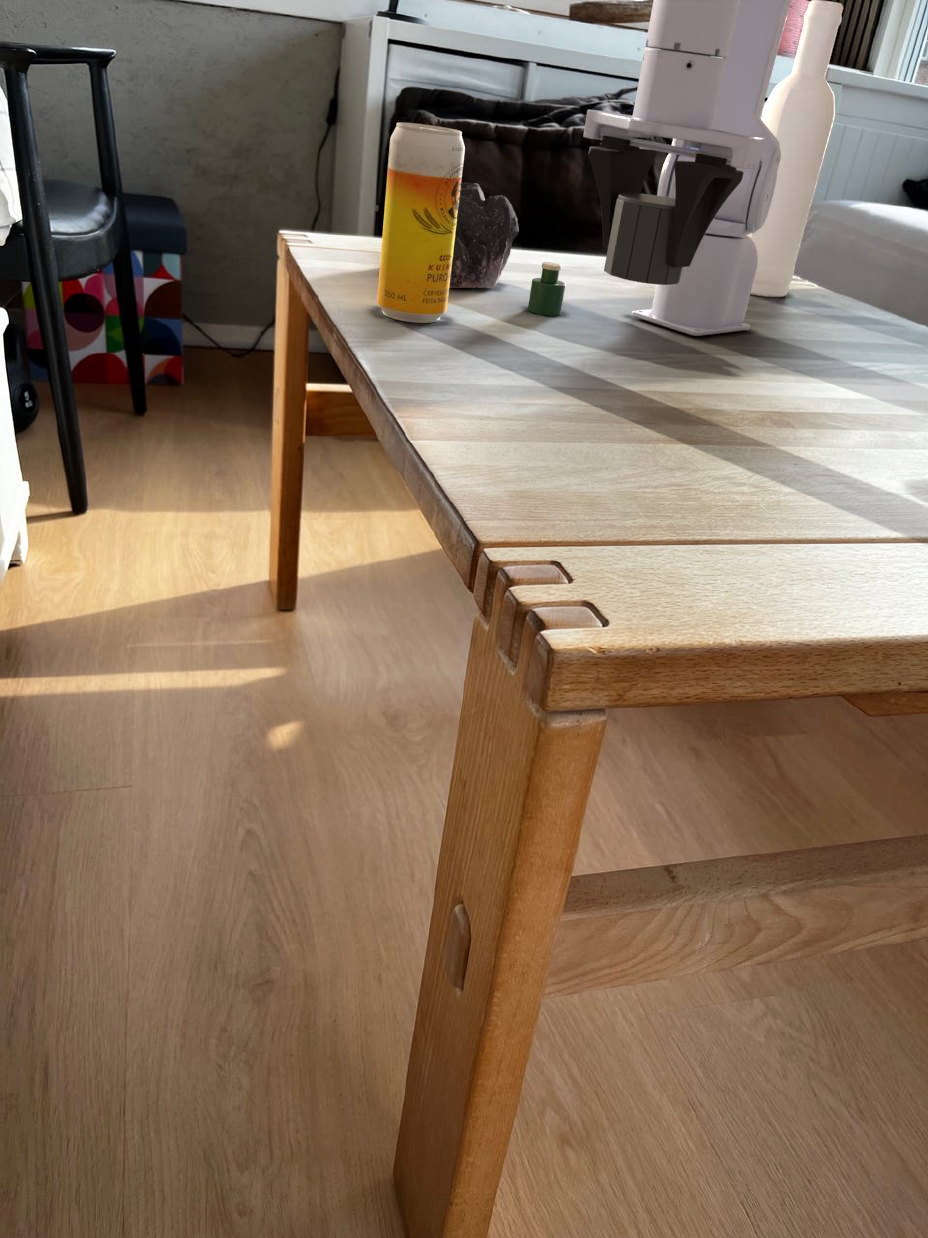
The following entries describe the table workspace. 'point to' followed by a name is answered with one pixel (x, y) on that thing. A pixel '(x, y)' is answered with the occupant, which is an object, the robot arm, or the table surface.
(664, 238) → the dark grey grooved cylinder
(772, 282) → the bottle
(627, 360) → the table surface
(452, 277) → the crystal cluster
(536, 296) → the bottle
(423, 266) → the beer can
